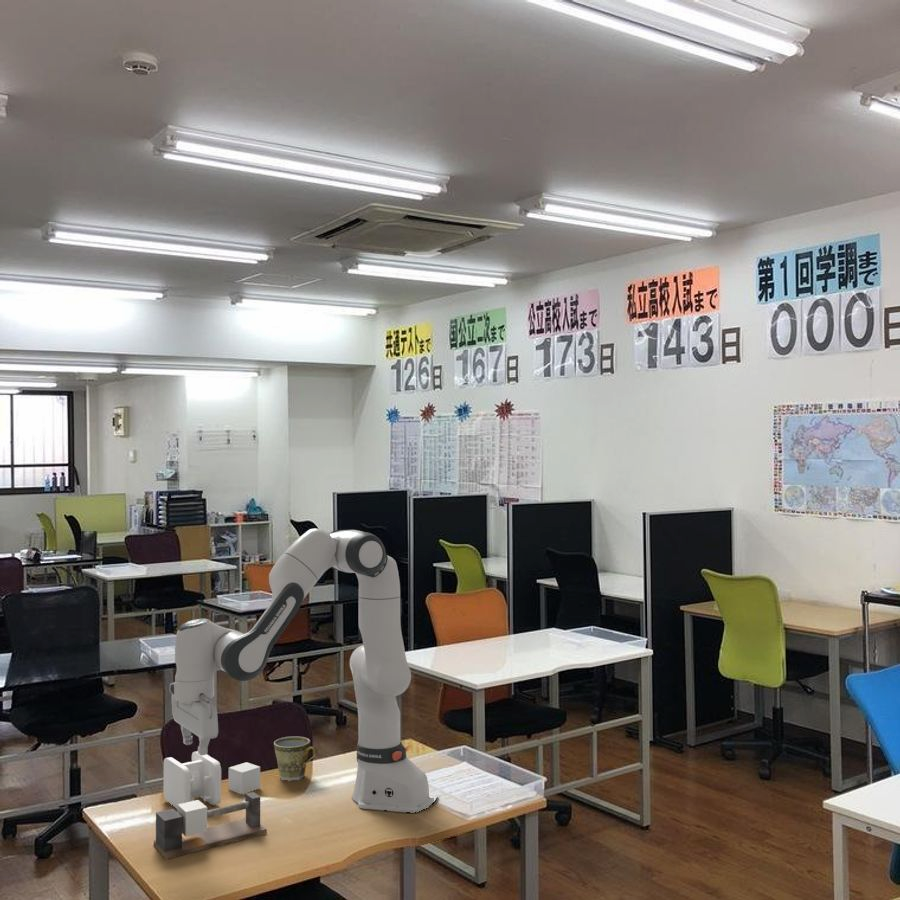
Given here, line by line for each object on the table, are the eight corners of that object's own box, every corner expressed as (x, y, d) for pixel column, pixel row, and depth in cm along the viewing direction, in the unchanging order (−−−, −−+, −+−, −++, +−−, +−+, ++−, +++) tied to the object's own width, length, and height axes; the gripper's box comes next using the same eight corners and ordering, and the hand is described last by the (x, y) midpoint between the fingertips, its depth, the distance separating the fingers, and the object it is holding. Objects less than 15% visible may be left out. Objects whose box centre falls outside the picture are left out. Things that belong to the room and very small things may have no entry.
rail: (251, 821, 226) (251, 788, 226) (266, 833, 218) (266, 799, 219) (153, 845, 212) (153, 810, 212) (166, 858, 204) (166, 822, 205)
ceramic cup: (266, 780, 254) (266, 744, 254) (286, 769, 263) (286, 734, 264) (306, 787, 249) (306, 750, 249) (325, 775, 258) (325, 739, 258)
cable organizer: (161, 800, 240) (161, 755, 240) (199, 790, 247) (199, 747, 247) (184, 817, 228) (184, 770, 228) (223, 807, 235) (223, 761, 235)
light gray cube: (242, 795, 244) (242, 772, 244) (228, 790, 247) (228, 767, 247) (260, 788, 248) (260, 766, 248) (246, 783, 252) (246, 762, 252)
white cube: (198, 823, 216) (198, 799, 216) (207, 831, 212) (207, 807, 212) (177, 828, 213) (177, 804, 213) (185, 836, 209) (185, 812, 209)
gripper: (225, 696, 208) (225, 758, 208) (192, 679, 224) (192, 736, 224) (198, 701, 204) (198, 763, 204) (166, 683, 221) (167, 741, 221)
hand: (195, 749), depth 214 cm, fingers open, 8 cm apart
